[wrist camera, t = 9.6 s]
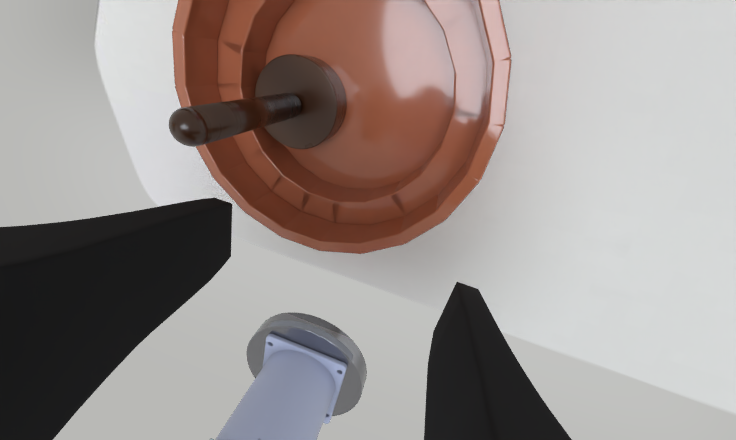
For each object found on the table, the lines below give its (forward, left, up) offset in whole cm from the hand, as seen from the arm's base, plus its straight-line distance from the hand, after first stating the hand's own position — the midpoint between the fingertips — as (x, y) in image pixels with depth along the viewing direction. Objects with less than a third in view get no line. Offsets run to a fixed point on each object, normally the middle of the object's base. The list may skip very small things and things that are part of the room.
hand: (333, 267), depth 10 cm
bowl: (+3, +3, -10) cm, 11 cm away
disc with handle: (+2, +6, -10) cm, 12 cm away
